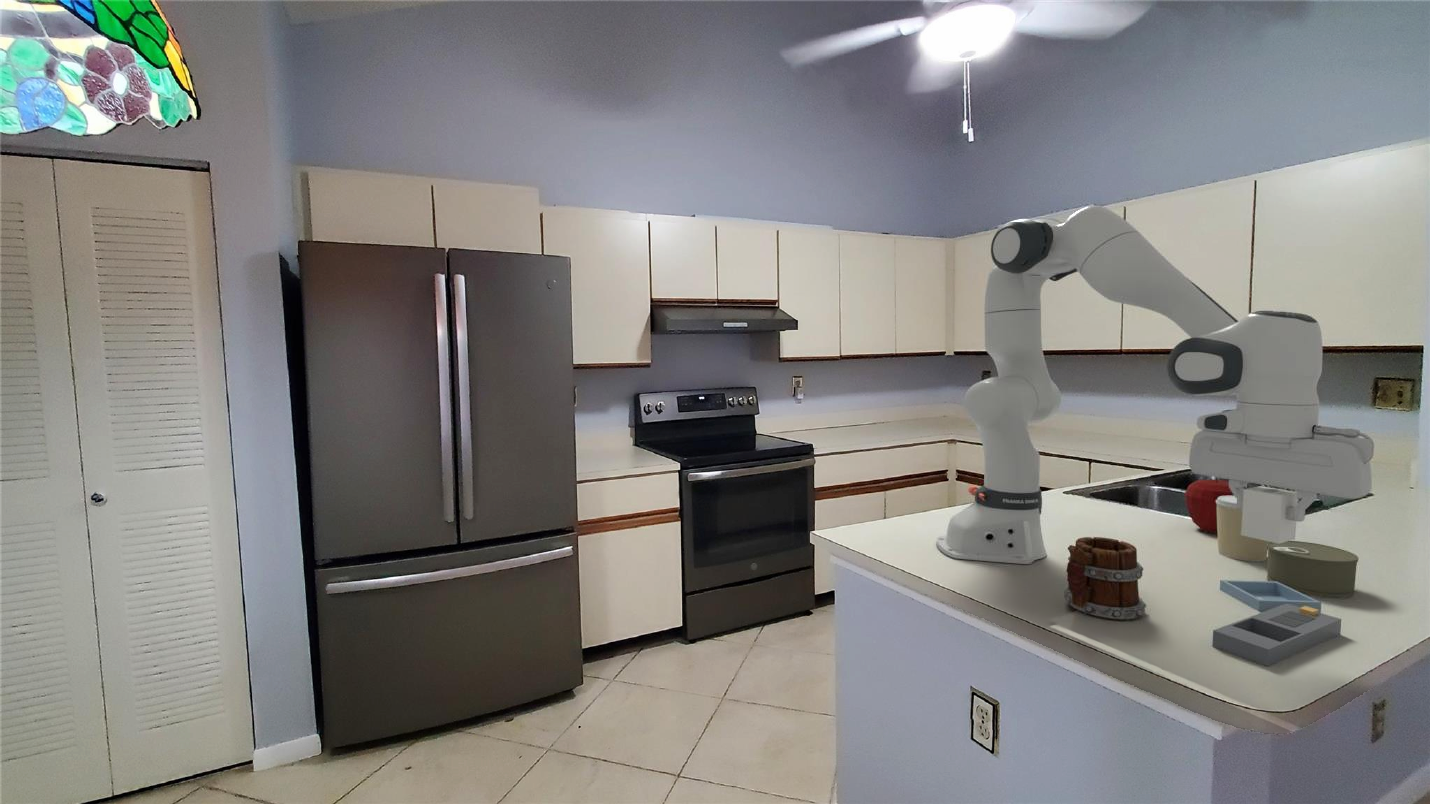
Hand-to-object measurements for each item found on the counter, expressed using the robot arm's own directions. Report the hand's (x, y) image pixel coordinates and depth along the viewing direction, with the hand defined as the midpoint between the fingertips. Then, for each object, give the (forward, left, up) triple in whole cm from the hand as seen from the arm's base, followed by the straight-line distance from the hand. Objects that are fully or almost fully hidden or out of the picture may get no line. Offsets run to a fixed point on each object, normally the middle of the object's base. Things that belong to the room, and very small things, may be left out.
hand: (1269, 515), depth 89 cm
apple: (+31, +60, -20) cm, 70 cm away
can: (+25, +25, -20) cm, 41 cm away
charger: (0, 0, -3) cm, 3 cm away
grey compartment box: (+3, +1, -20) cm, 20 cm away
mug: (-19, +9, -20) cm, 29 cm away
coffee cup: (+25, +42, -20) cm, 53 cm away
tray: (+11, +15, -20) cm, 27 cm away
